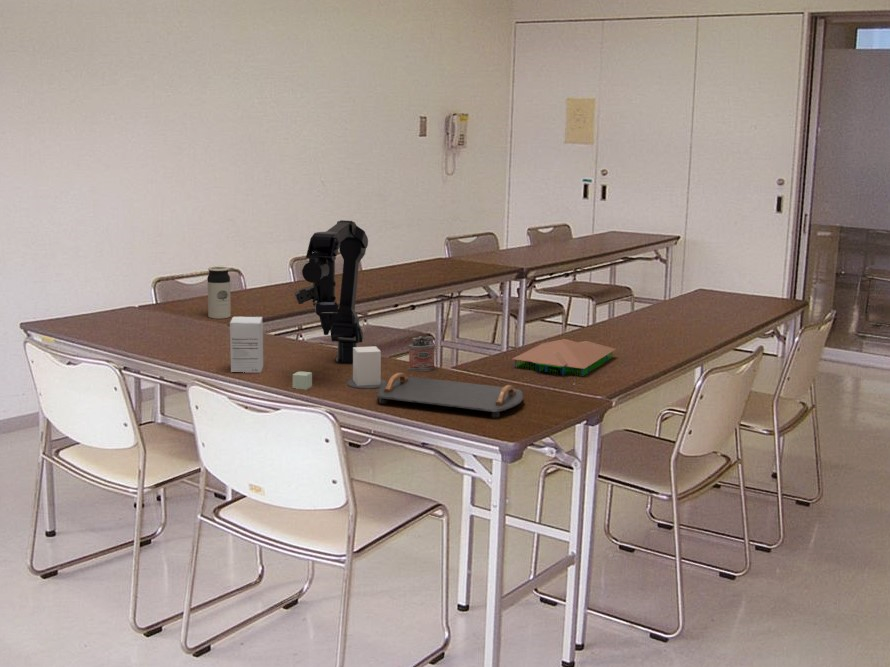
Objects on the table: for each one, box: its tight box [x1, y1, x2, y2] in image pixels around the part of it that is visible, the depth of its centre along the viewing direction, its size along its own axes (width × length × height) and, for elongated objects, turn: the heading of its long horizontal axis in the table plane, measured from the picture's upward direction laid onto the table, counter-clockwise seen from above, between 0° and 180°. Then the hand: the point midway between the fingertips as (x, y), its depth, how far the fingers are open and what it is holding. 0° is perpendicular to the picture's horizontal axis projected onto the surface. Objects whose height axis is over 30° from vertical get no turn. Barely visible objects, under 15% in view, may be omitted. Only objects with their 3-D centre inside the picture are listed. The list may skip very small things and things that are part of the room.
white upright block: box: [352, 346, 382, 386], centre depth 295 cm, size 6×6×10 cm
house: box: [512, 338, 617, 376], centre depth 325 cm, size 23×33×8 cm
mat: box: [346, 378, 387, 390], centre depth 296 cm, size 11×11×1 cm
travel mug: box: [206, 266, 232, 320], centre depth 383 cm, size 8×8×18 cm
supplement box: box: [229, 316, 264, 374], centre depth 308 cm, size 9×9×15 cm
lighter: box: [408, 335, 436, 372], centre depth 313 cm, size 8×3×10 cm, turn 106°
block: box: [292, 371, 313, 391], centre depth 291 cm, size 4×4×4 cm
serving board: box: [376, 372, 524, 419], centre depth 280 cm, size 39×23×6 cm, turn 70°
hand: (324, 331), depth 301 cm, fingers open, 9 cm apart
